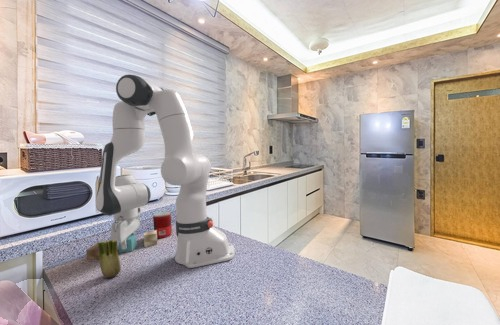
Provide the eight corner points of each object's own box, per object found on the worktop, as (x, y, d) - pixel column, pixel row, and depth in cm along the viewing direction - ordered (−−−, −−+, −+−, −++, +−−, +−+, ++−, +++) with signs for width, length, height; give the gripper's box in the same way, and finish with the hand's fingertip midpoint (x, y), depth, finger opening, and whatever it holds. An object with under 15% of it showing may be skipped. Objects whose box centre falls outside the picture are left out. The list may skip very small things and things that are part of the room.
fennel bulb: (98, 277, 72) (95, 241, 71) (113, 270, 76) (110, 236, 76) (109, 281, 70) (106, 244, 69) (124, 273, 74) (121, 238, 73)
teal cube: (136, 246, 96) (136, 234, 96) (132, 251, 91) (131, 239, 91) (124, 247, 96) (123, 236, 95) (119, 252, 91) (118, 240, 90)
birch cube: (157, 240, 102) (156, 229, 101) (157, 244, 97) (156, 233, 97) (145, 242, 100) (144, 231, 100) (144, 246, 95) (143, 235, 95)
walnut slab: (115, 251, 93) (114, 241, 93) (105, 259, 86) (104, 249, 86) (99, 251, 93) (98, 242, 93) (86, 260, 86) (86, 250, 86)
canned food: (175, 233, 109) (173, 211, 108) (161, 239, 102) (159, 216, 102) (165, 231, 113) (163, 210, 113) (151, 237, 106) (149, 214, 106)
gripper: (122, 220, 83) (125, 255, 83) (142, 206, 103) (144, 235, 104) (104, 221, 82) (107, 257, 83) (127, 208, 102) (130, 237, 103)
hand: (128, 245), depth 93 cm, fingers closed on teal cube, 5 cm apart
